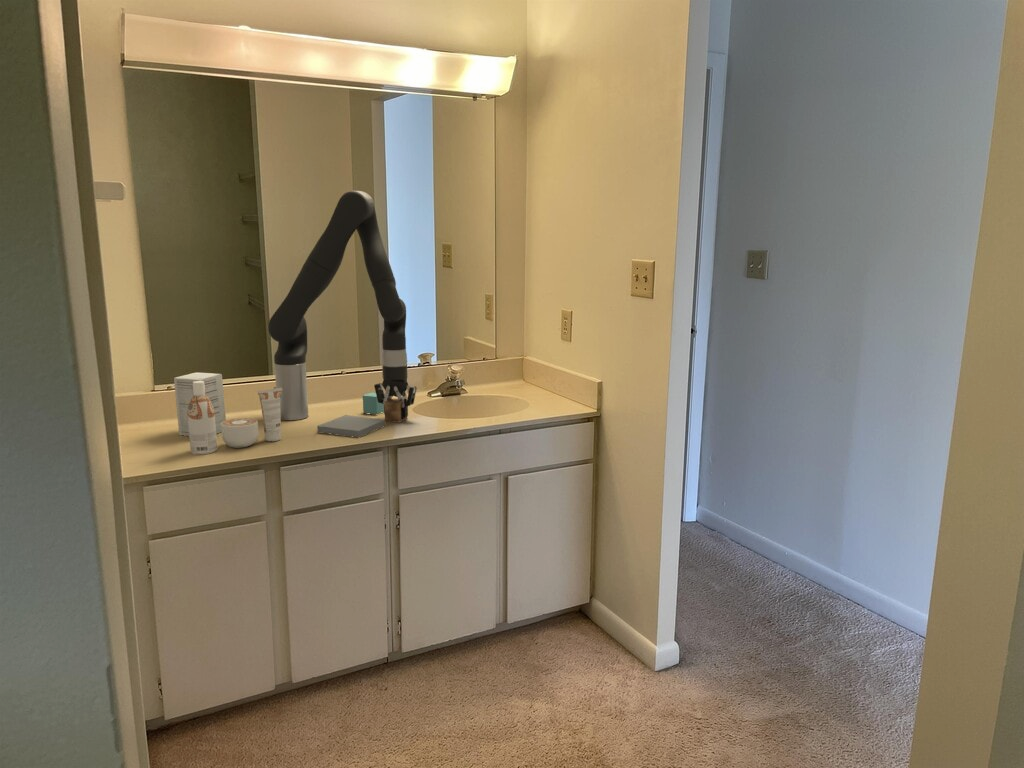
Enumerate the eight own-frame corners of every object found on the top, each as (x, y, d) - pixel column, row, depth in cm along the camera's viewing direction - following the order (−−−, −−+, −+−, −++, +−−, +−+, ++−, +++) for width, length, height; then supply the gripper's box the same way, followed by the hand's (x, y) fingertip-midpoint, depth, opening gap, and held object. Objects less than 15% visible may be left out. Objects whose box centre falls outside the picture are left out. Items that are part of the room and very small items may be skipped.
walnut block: (384, 420, 228) (384, 401, 227) (393, 417, 232) (392, 398, 231) (399, 422, 226) (398, 403, 225) (407, 418, 231) (406, 399, 229)
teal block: (363, 413, 236) (362, 395, 235) (371, 410, 241) (371, 392, 240) (376, 415, 235) (376, 396, 233) (385, 411, 239) (384, 393, 238)
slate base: (317, 432, 214) (317, 425, 213) (345, 421, 227) (345, 415, 226) (359, 437, 209) (358, 430, 208) (385, 425, 221) (385, 419, 221)
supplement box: (227, 430, 216) (223, 373, 212) (205, 438, 207) (200, 379, 204) (201, 427, 219) (196, 371, 215) (177, 435, 210) (172, 377, 207)
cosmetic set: (279, 434, 212) (275, 370, 208) (291, 442, 205) (287, 375, 201) (186, 449, 197) (180, 380, 193) (195, 457, 190) (189, 386, 186)
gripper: (367, 363, 225) (369, 418, 228) (409, 367, 220) (410, 422, 223) (380, 360, 232) (382, 412, 235) (421, 363, 226) (422, 417, 230)
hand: (396, 417), depth 229 cm, fingers closed on walnut block, 5 cm apart
